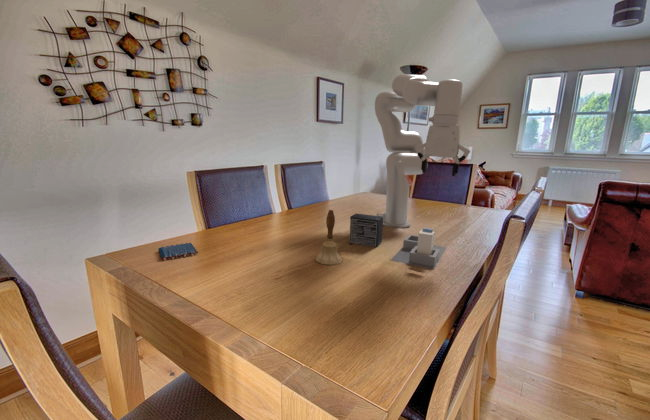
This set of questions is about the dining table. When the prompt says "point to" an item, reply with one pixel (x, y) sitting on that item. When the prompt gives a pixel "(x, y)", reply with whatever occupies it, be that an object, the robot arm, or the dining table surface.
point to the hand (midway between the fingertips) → (438, 173)
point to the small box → (366, 229)
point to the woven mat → (177, 251)
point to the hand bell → (329, 245)
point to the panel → (418, 254)
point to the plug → (425, 241)
